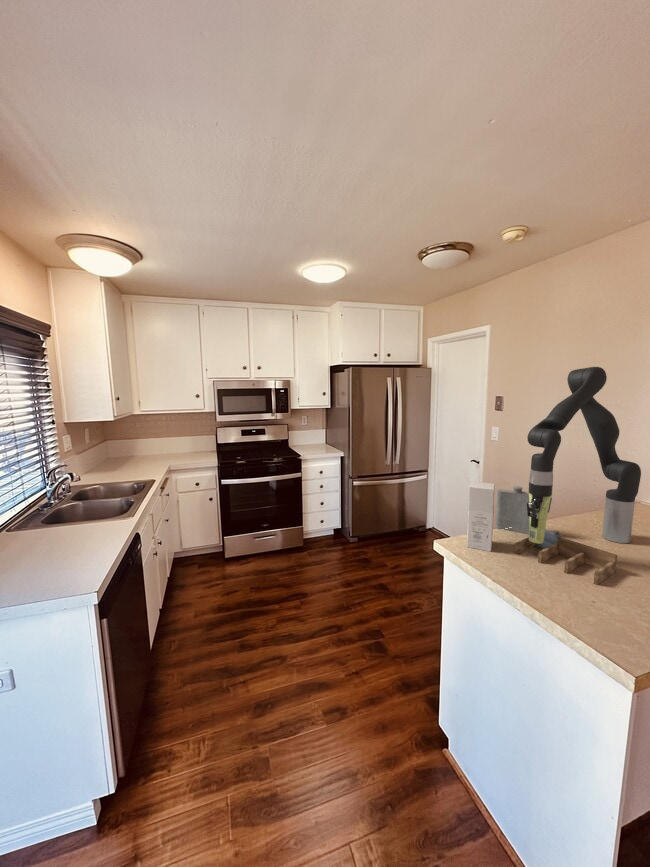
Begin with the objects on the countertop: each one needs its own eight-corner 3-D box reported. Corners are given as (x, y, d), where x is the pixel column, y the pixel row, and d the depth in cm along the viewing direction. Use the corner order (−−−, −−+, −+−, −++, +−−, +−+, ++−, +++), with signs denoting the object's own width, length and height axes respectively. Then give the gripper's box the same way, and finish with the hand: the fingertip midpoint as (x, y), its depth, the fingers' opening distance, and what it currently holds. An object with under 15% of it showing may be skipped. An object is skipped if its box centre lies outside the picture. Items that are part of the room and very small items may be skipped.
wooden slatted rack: (535, 543, 144) (536, 524, 143) (616, 571, 121) (618, 548, 120) (514, 552, 136) (515, 532, 135) (597, 584, 113) (599, 560, 112)
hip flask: (494, 528, 159) (496, 485, 157) (496, 525, 163) (498, 483, 160) (535, 536, 151) (538, 490, 148) (536, 533, 154) (539, 488, 151)
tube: (539, 538, 137) (543, 489, 135) (548, 544, 132) (552, 493, 130) (525, 538, 137) (528, 489, 134) (533, 544, 132) (537, 493, 129)
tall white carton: (492, 543, 145) (495, 483, 141) (490, 551, 137) (494, 489, 134) (469, 538, 149) (471, 481, 145) (466, 547, 141) (469, 486, 138)
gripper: (540, 477, 138) (537, 518, 141) (520, 482, 131) (517, 526, 133) (561, 481, 132) (557, 524, 134) (541, 487, 124) (538, 533, 127)
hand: (537, 525), depth 134 cm, fingers closed on tube, 4 cm apart
